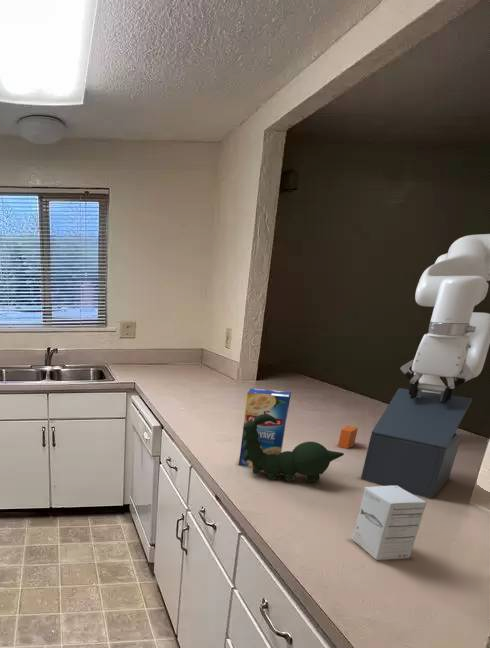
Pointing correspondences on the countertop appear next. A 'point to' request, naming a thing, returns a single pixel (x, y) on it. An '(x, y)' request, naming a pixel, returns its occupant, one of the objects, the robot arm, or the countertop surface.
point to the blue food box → (268, 431)
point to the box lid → (422, 416)
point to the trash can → (409, 464)
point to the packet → (347, 437)
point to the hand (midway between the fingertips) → (428, 399)
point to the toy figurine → (285, 455)
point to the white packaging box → (388, 522)
